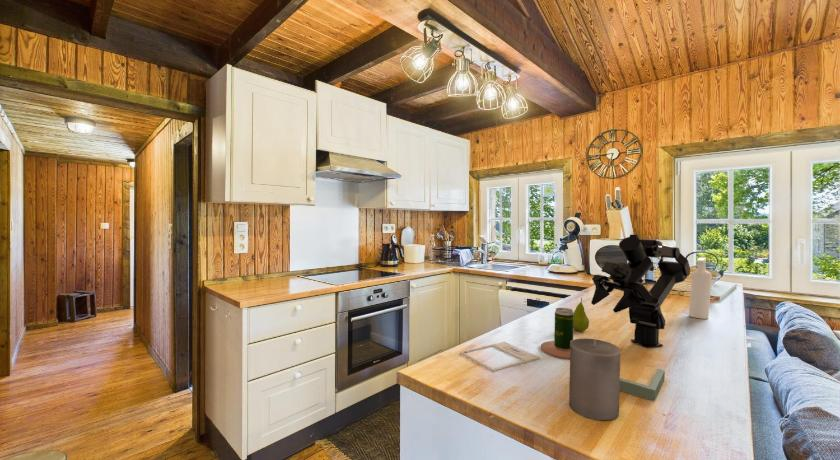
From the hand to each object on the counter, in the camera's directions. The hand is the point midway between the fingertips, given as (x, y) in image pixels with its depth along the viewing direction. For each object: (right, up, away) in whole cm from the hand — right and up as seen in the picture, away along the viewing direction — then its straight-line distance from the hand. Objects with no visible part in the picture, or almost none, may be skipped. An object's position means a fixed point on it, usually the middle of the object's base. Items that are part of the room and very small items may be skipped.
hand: (602, 307), depth 108 cm
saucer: (-12, -13, 0) cm, 18 cm away
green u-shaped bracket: (-5, -14, -18) cm, 24 cm away
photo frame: (-33, -14, -4) cm, 36 cm away
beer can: (-12, -13, 0) cm, 18 cm away
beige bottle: (+62, -13, +41) cm, 75 cm away
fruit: (+2, -13, +21) cm, 25 cm away
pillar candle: (-19, -15, -32) cm, 40 cm away
